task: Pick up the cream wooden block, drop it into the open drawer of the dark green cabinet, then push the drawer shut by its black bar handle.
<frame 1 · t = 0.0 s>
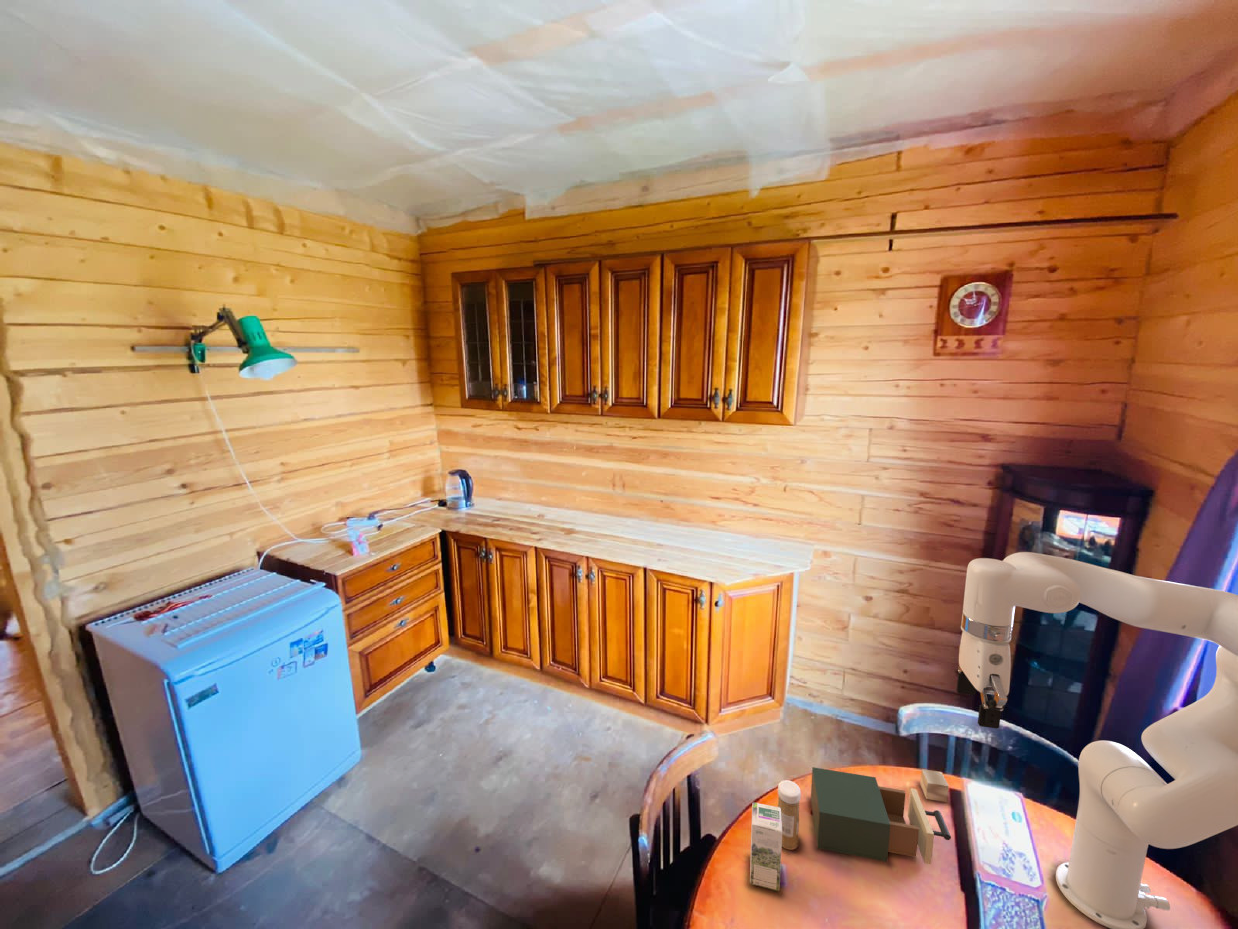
hand: (976, 709, 95), 37 cm above the table, tool pointing down, fingers open, 9 cm apart
drawer: (901, 821, 108), point 5 cm above the table, slide at 7.0 cm
syrup box: (764, 876, 102), on the table
block: (933, 793, 120), on the table
cabinet: (846, 829, 112), on the table
spice jar: (787, 842, 109), on the table
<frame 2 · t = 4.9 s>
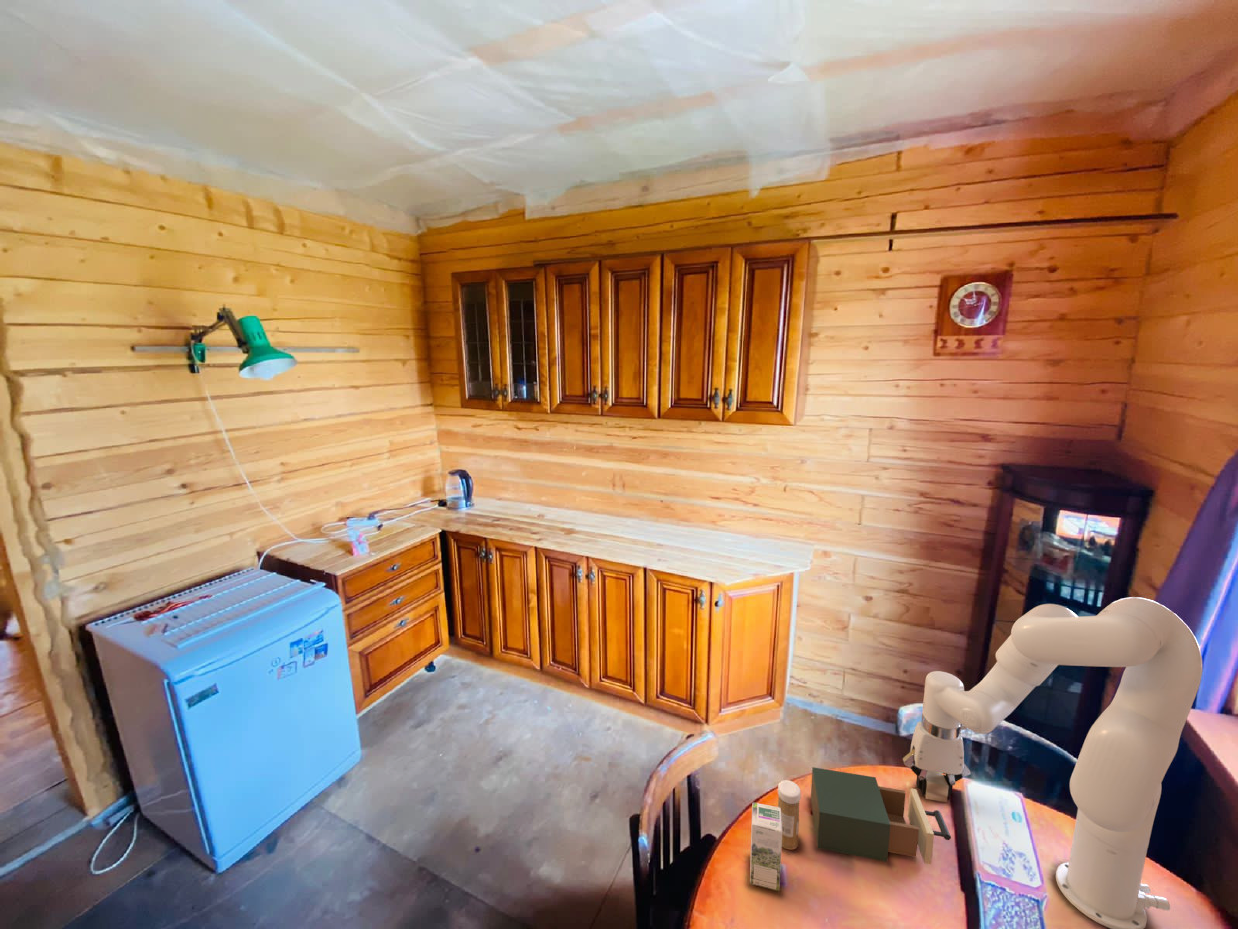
hand: (933, 792, 120), 0 cm above the table, tool pointing down, fingers closed on block, 4 cm apart
block: (933, 793, 120), on the table, touching gripper
everything else where it was.
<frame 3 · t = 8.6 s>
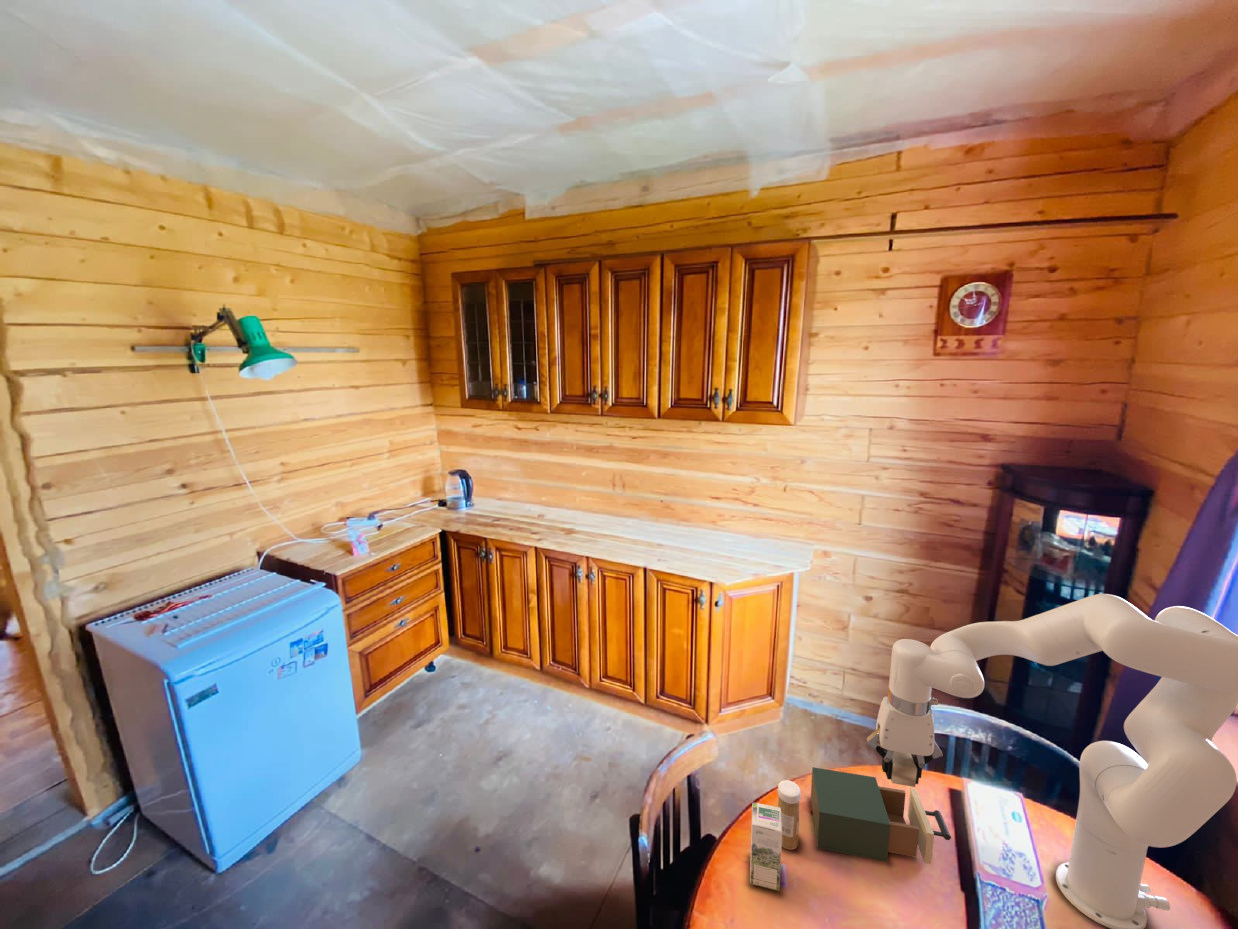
hand: (900, 776, 107), 15 cm above the table, tool pointing down, fingers closed on block, 4 cm apart
block: (900, 777, 107), point 15 cm above the table, touching gripper
everything else where it was.
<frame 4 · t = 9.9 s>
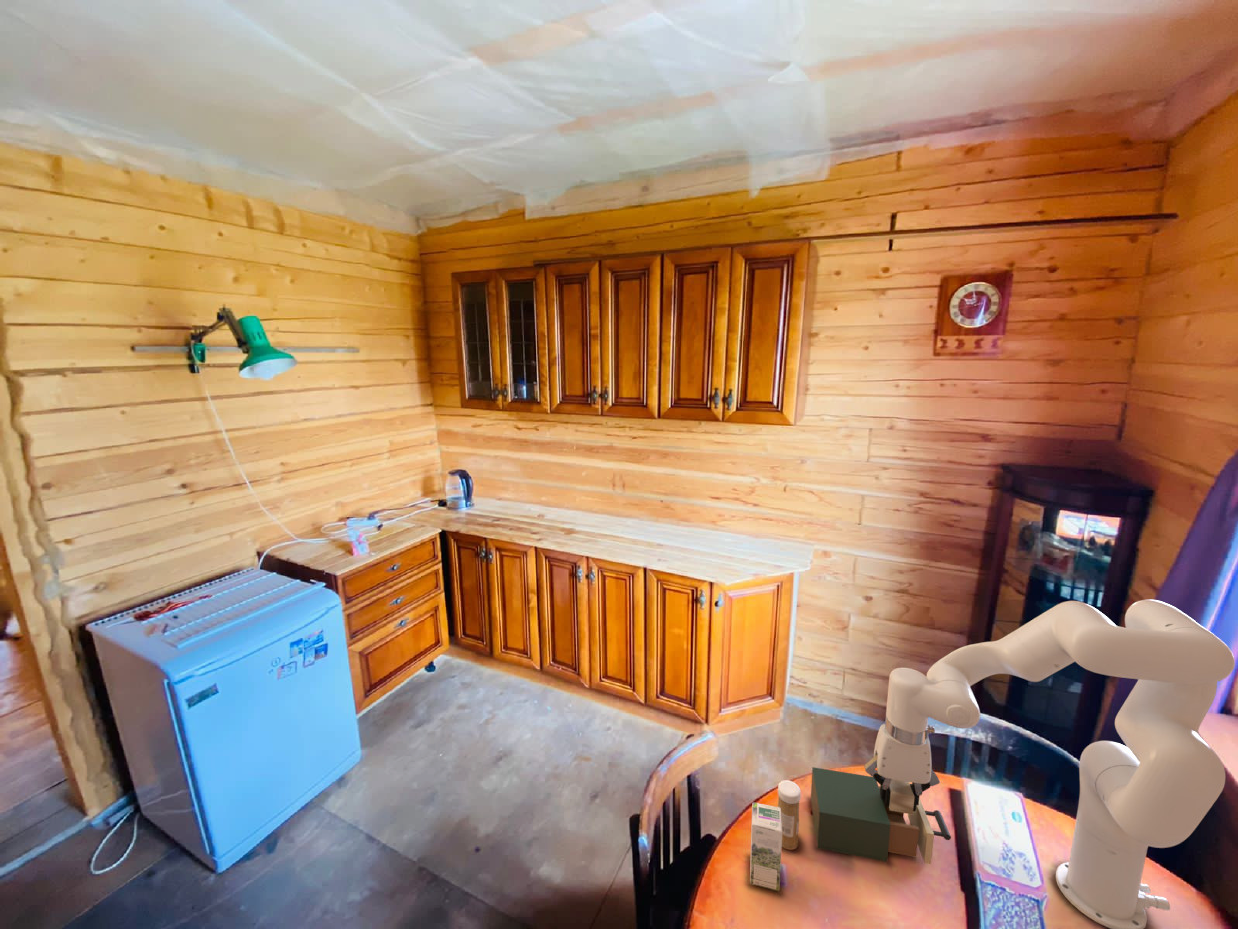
hand: (898, 802, 108), 9 cm above the table, tool pointing down, fingers closed on block, 4 cm apart
block: (898, 804, 108), point 9 cm above the table, touching gripper
everything else where it was.
when the fingers open (9 cm above the table, at t = 12.5 s): block drops 7 cm, resting on drawer.
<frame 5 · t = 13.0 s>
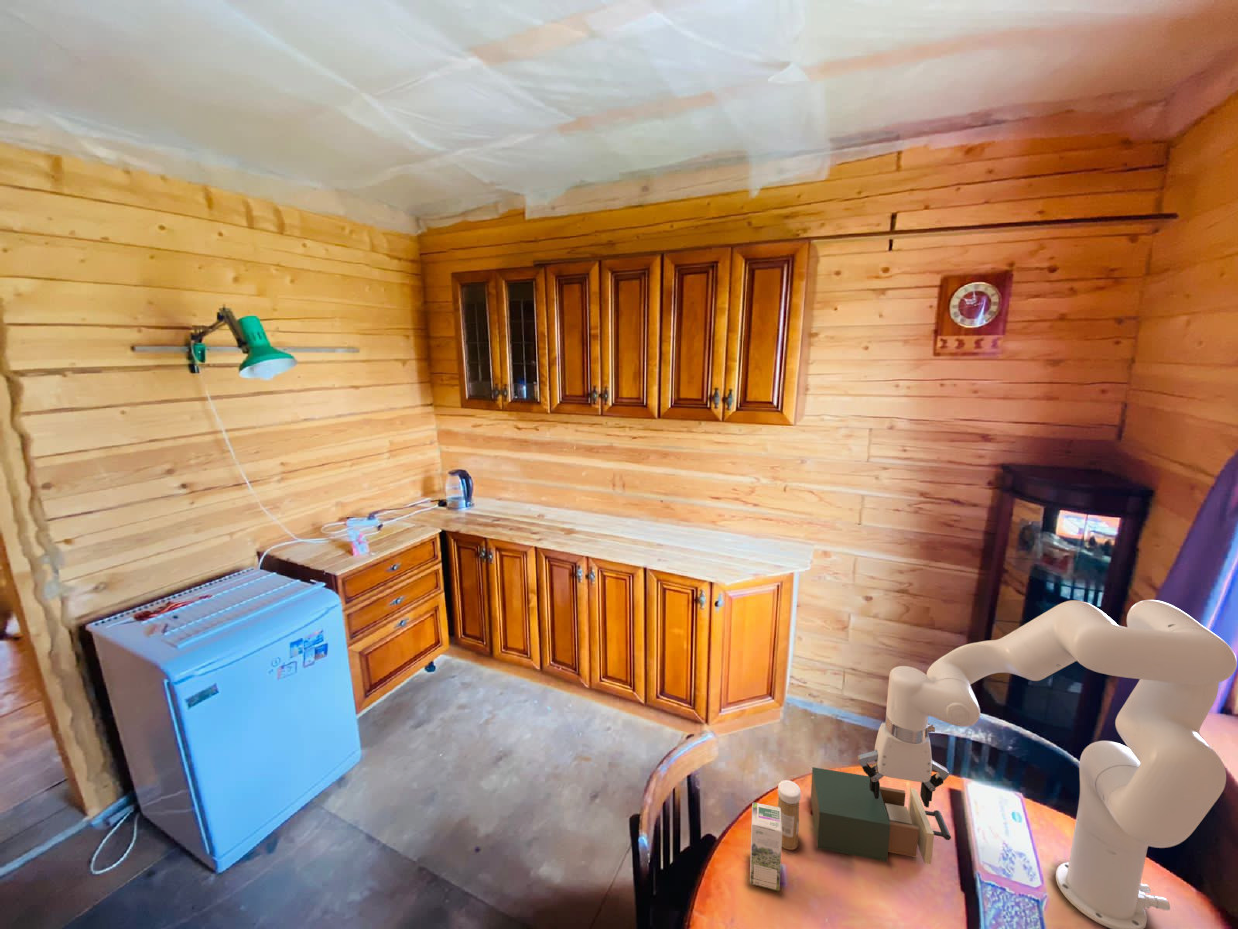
hand: (899, 797, 107), 10 cm above the table, tool pointing down, fingers open, 9 cm apart
drawer: (901, 821, 108), point 5 cm above the table, slide at 7.0 cm, touching block
block: (896, 830, 109), point 2 cm above the table, touching drawer
everything else where it was.
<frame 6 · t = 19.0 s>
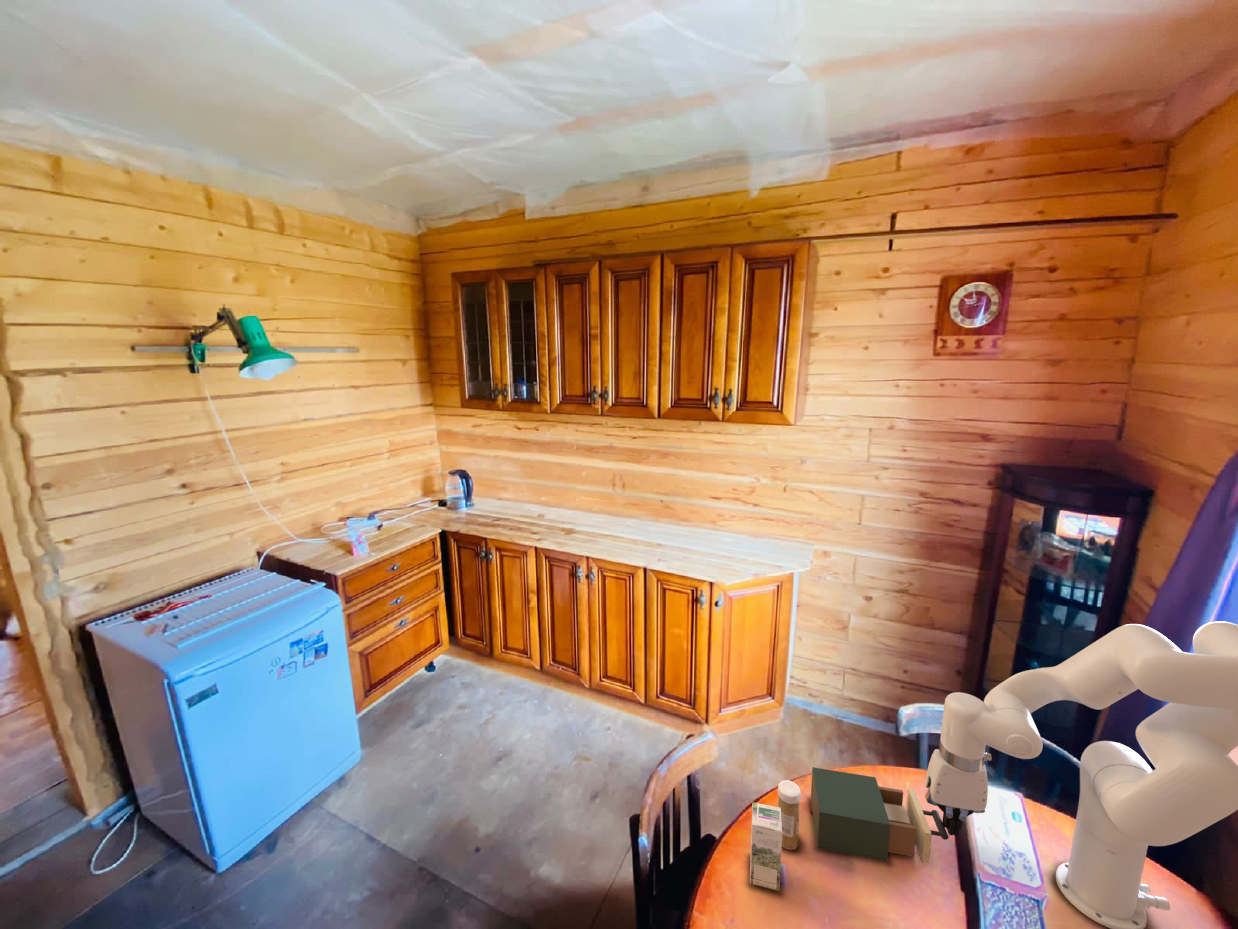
hand: (951, 830, 106), 5 cm above the table, tool pointing down, fingers closed
drawer: (899, 821, 108), point 5 cm above the table, slide at 6.6 cm, touching block, gripper
everything else where it was.
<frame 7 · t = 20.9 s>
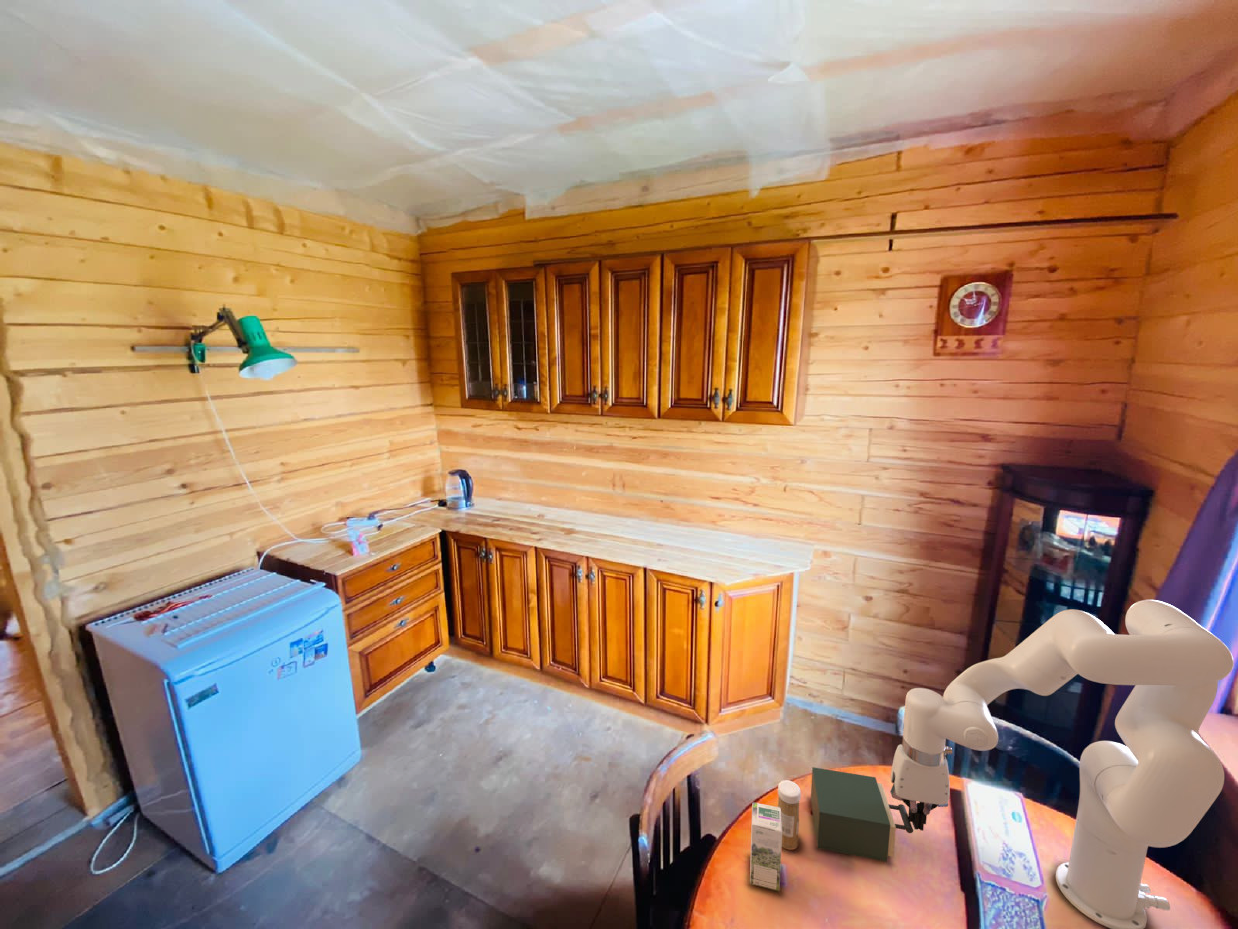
hand: (916, 824, 107), 4 cm above the table, tool pointing down, fingers closed
drawer: (866, 815, 110), point 5 cm above the table, slide at 0.0 cm, touching block, cabinet, gripper
block: (861, 824, 111), point 2 cm above the table, touching drawer
everything else where it was.
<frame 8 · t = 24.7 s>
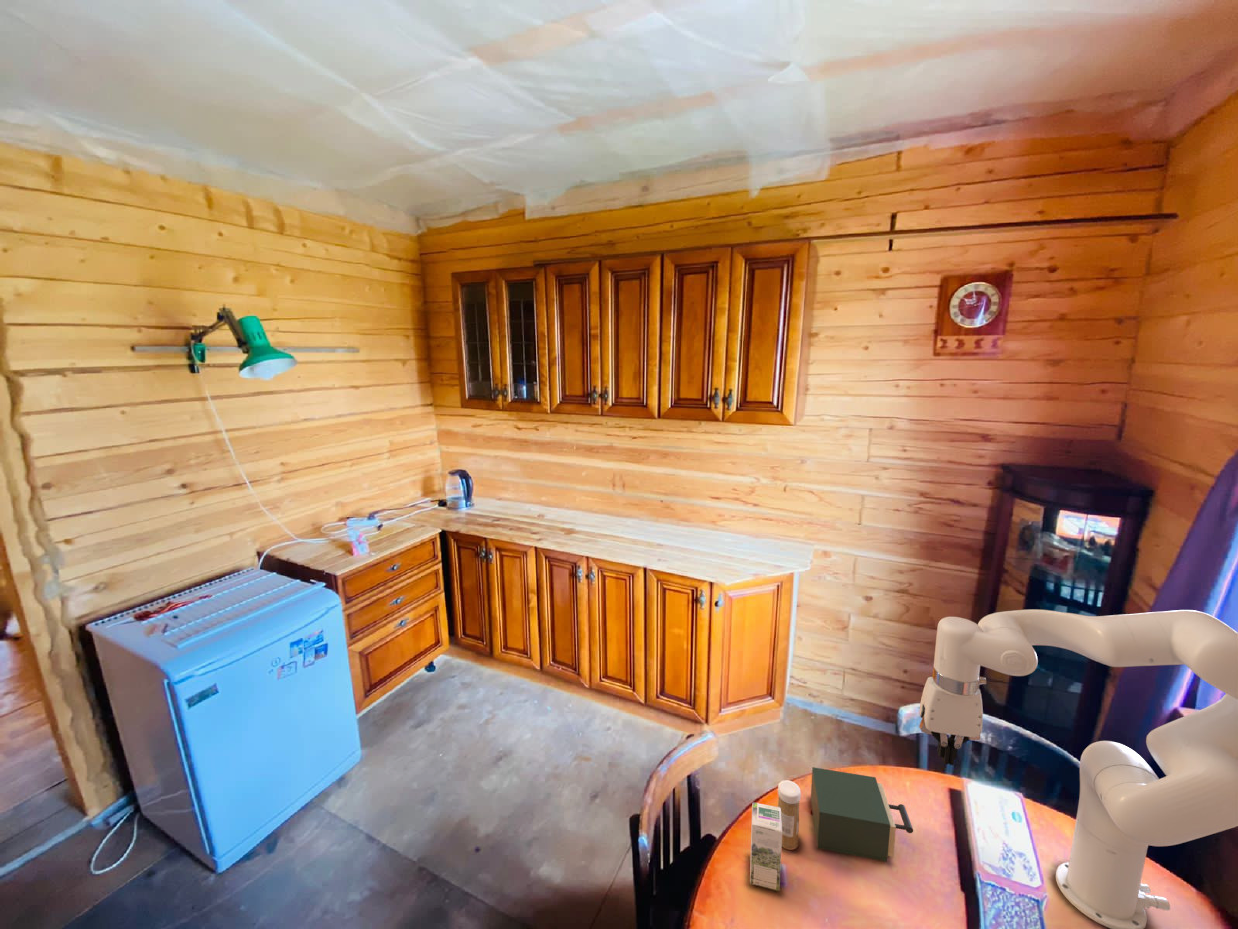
hand: (946, 759, 103), 21 cm above the table, tool pointing down, fingers closed
drawer: (866, 815, 110), point 5 cm above the table, slide at 0.0 cm, touching block, cabinet
everything else where it was.
at the end: block inside the target area in the cabinet (3.1 cm from its centre), point 2.0 cm above the cabinet's base; drawer slide at 0.0 cm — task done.
